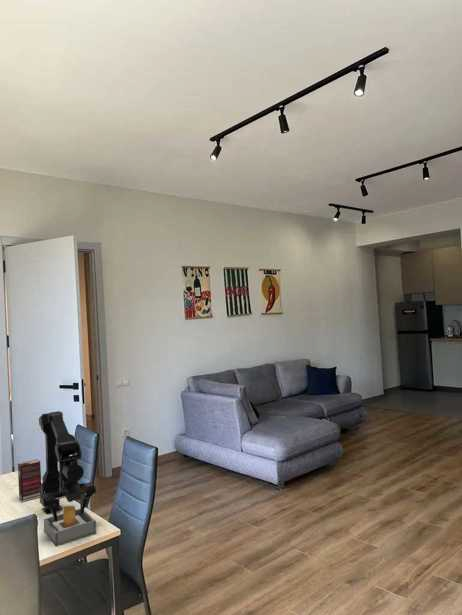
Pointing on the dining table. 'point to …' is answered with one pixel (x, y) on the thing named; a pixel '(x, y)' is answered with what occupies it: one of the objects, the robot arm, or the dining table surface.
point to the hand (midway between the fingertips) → (69, 517)
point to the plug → (69, 516)
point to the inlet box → (69, 528)
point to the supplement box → (29, 480)
